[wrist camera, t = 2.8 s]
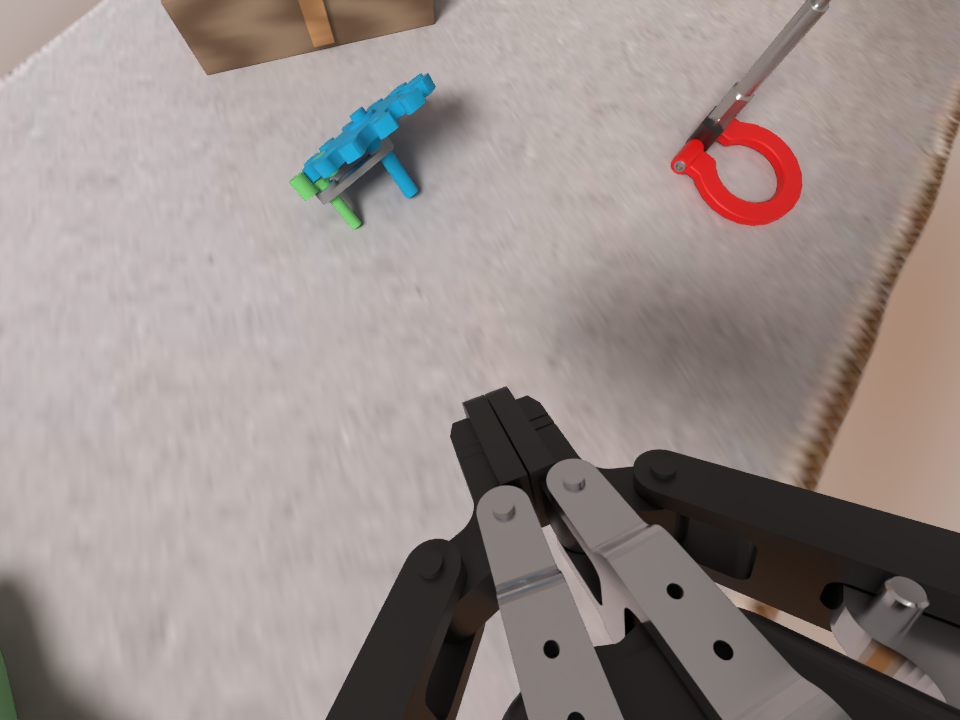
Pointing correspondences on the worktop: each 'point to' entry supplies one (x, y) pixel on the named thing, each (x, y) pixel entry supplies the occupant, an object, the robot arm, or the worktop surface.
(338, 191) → the gear
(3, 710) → the green elongated piece
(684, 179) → the worktop surface
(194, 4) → the rail
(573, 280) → the worktop surface
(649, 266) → the worktop surface
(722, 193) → the tow hook
